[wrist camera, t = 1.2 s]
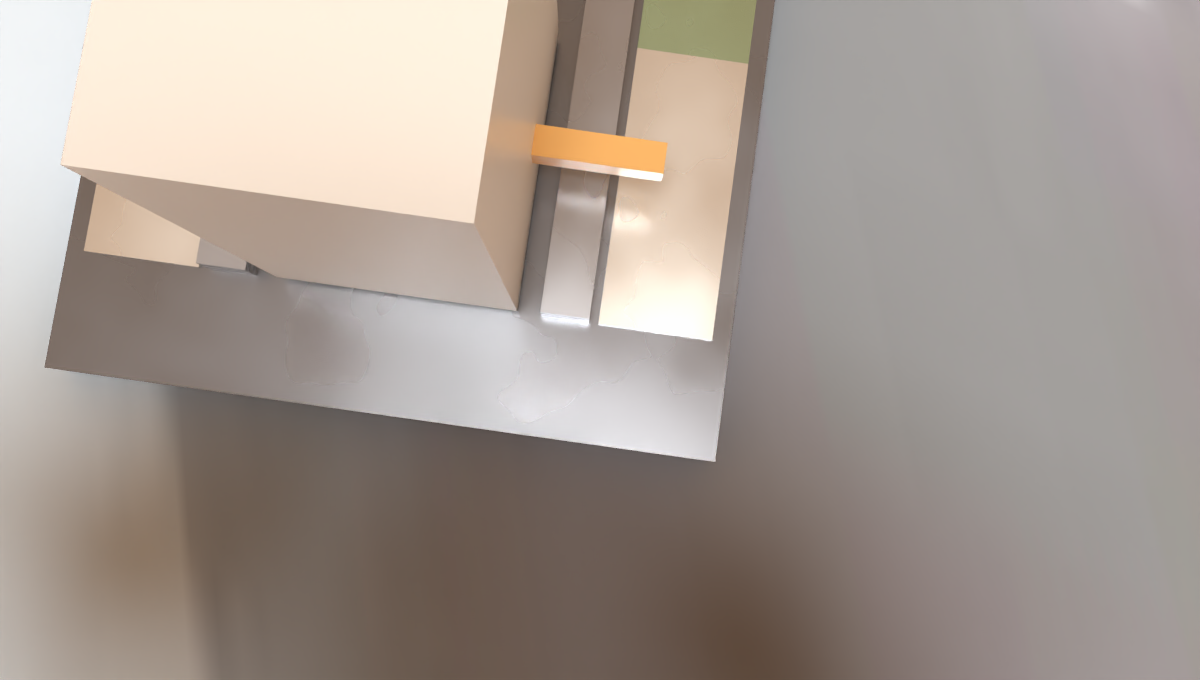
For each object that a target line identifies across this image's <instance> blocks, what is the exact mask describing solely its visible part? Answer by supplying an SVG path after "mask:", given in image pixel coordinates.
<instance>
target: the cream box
mask: <svg viewBox="0 0 1200 680" xmlns="http://www.w3.org/2000/svg"><path fill="white" fill-rule="evenodd" d="M558 33H559V31H558V10H557V0H92V3H91V9H90V14H89V19H88V24H87V29H86V35H85V40H84V45H83V50H82V55H81V61H80V66H79V71H78V76H77V81H76V87H75V92H74V97H73V102H72V107H71V113H70V118H69V123H68V128H67V133H66V139H65V144H64V149H63V154H62V159H61V165H62V166H64V167H66V168H68V169H70V170H72V171H74V172H76V173H78V174H79V175H81V176H83V177H85V178H87V179H89V180H91V181H93V182H95V183H97V184H99V185H101V186H103V187H104V188H106V189H108V190H110V191H112V192H114V193H116V194H118V195H120V196H122V197H124V198H126V199H128V200H129V201H131V202H133V203H135V204H137V205H139V206H141V207H143V208H145V209H147V210H149V211H151V212H153V213H154V214H156V215H158V216H160V217H162V218H164V219H166V220H168V221H170V222H172V223H174V224H176V225H177V226H179V227H181V228H183V229H185V230H187V231H189V232H191V233H193V234H195V235H197V236H199V237H201V238H202V239H204V240H206V241H208V242H210V243H212V244H214V245H216V246H218V247H220V248H222V249H224V250H226V251H227V252H229V253H231V254H233V255H235V256H237V257H239V258H241V259H243V260H245V261H247V262H249V263H251V264H252V265H254V266H256V267H258V268H260V269H262V270H264V271H266V272H268V273H270V274H272V275H274V276H276V277H279V278H286V279H293V280H300V281H307V282H314V283H321V284H328V285H335V286H342V287H349V288H356V289H363V290H370V291H377V292H385V293H392V294H399V295H406V296H413V297H420V298H427V299H434V300H441V301H448V302H455V303H462V304H469V305H476V306H483V307H490V308H497V309H504V310H511V311H517V309H518V302H519V296H520V289H521V282H522V275H523V269H524V262H525V255H526V249H527V242H528V235H529V228H530V222H531V215H532V208H533V201H534V195H535V188H536V181H537V175H538V168H539V164H542V165H549V166H556V167H563V168H570V169H577V170H584V171H591V172H598V173H605V174H612V175H619V176H625V177H632V178H639V179H646V180H653V181H660V182H661V180H662V177H663V174H664V166H665V159H666V152H667V144H668V143H666V142H659V141H652V140H645V139H638V138H631V137H624V136H617V135H610V134H603V133H596V132H589V131H582V130H575V129H568V128H561V127H554V126H547V125H545V121H546V114H547V107H548V101H549V94H550V87H551V80H552V74H553V67H554V60H555V54H556V47H557V40H558Z"/></svg>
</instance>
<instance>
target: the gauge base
mask: <svg viewBox="0 0 1200 680" xmlns="http://www.w3.org/2000/svg"><path fill="white" fill-rule="evenodd" d="M774 2H775V0H557V10H558V31H559V33H558V40H557V47H556V54H555V60H554V67H553V74H552V80H551V87H550V94H549V101H548V107H547V114H546V121H545V125H547V126H554V127H561V128H568V129H575V130H582V131H589V132H596V133H603V134H610V135H617V136H624V137H631V138H638V139H645V140H652V141H659V142H666V143H668V144H667V152H666V159H665V166H664V174H663V177H662V180H661V182H660V181H653V180H646V179H639V178H632V177H625V176H619V175H612V174H605V173H598V172H591V171H584V170H577V169H570V168H563V167H556V166H549V165H542V164H539V168H538V175H537V181H536V188H535V195H534V201H533V208H532V215H531V222H530V228H529V235H528V242H527V249H526V255H525V262H524V269H523V275H522V282H521V289H520V296H519V302H518V309H517V311H511V310H504V309H497V308H490V307H483V306H476V305H469V304H462V303H455V302H448V301H441V300H434V299H427V298H420V297H413V296H406V295H399V294H392V293H385V292H377V291H370V290H363V289H356V288H349V287H342V286H335V285H328V284H321V283H314V282H307V281H300V280H293V279H286V278H279V277H276V276H274V275H272V274H270V273H268V272H266V271H264V270H262V269H260V268H258V267H256V266H254V265H252V264H251V263H249V262H247V261H245V260H243V259H241V258H239V257H237V256H235V255H233V254H231V253H229V252H227V251H226V250H224V249H222V248H220V247H218V246H216V245H214V244H212V243H210V242H208V241H206V240H204V239H202V238H201V237H199V236H197V235H195V234H193V233H191V232H189V231H187V230H185V229H183V228H181V227H179V226H177V225H176V224H174V223H172V222H170V221H168V220H166V219H164V218H162V217H160V216H158V215H156V214H154V213H153V212H151V211H149V210H147V209H145V208H143V207H141V206H139V205H137V204H135V203H133V202H131V201H129V200H128V199H126V198H124V197H122V196H120V195H118V194H116V193H114V192H112V191H110V190H108V189H106V188H104V187H103V186H101V185H99V184H97V183H95V182H93V181H91V180H89V179H87V178H85V177H83V176H81V178H80V184H79V189H78V194H77V199H76V205H75V210H74V215H73V220H72V226H71V231H70V236H69V241H68V247H67V252H66V257H65V262H64V268H63V273H62V278H61V283H60V289H59V294H58V299H57V304H56V310H55V315H54V320H53V325H52V331H51V336H50V341H49V346H48V352H47V357H46V362H45V368H52V369H59V370H66V371H74V372H81V373H88V374H95V375H102V376H109V377H116V378H123V379H130V380H137V381H145V382H152V383H159V384H166V385H173V386H180V387H187V388H194V389H201V390H208V391H216V392H223V393H230V394H237V395H244V396H251V397H258V398H265V399H272V400H279V401H287V402H294V403H301V404H308V405H315V406H322V407H329V408H336V409H343V410H350V411H357V412H365V413H372V414H379V415H386V416H393V417H400V418H407V419H414V420H421V421H428V422H436V423H443V424H450V425H457V426H464V427H471V428H478V429H485V430H492V431H499V432H507V433H514V434H521V435H528V436H535V437H542V438H549V439H556V440H563V441H570V442H578V443H585V444H592V445H599V446H606V447H613V448H620V449H627V450H634V451H641V452H649V453H656V454H663V455H670V456H677V457H684V458H691V459H698V460H705V461H712V462H715V458H716V451H717V443H718V435H719V427H720V420H721V412H722V404H723V397H724V389H725V381H726V373H727V366H728V358H729V350H730V342H731V335H732V327H733V319H734V311H735V304H736V296H737V288H738V280H739V273H740V265H741V257H742V249H743V242H744V234H745V226H746V219H747V211H748V203H749V195H750V188H751V180H752V172H753V164H754V157H755V149H756V141H757V133H758V126H759V118H760V110H761V102H762V95H763V87H764V79H765V71H766V64H767V56H768V48H769V40H770V33H771V25H772V17H773V10H774Z"/></svg>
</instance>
